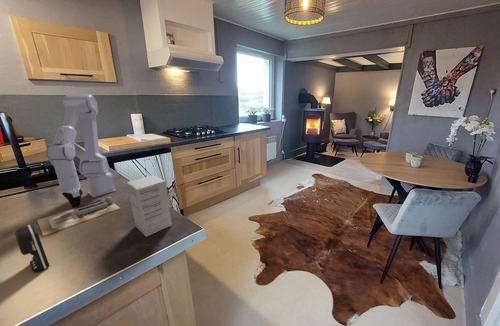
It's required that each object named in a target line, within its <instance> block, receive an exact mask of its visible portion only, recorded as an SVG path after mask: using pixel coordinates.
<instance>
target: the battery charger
mask: <svg viewBox="0 0 500 326" xmlns="http://www.w3.org/2000/svg"><path fill="white" fill-rule="evenodd" d="M14 234H15V239H16V242H17V245H18V248H19V250H20V253H21V254H22V255H23V256H25V255H26V256H27V255H30V256H32V259H31V260H30V261H29V264H30V267H31V269H32V272H33V273H38V272H41V271H43V270H46V269H47V268H49V267H50V263H49V261H48V258H47V256H46V253H45V249H44V247H43V244H42V241H41V238H40V235H39V233H38V231H37V228H36V227H35V224H33V223H31V224H28V225H26V226H22V227H20V228H18V229H16V230H15V233H14Z"/></svg>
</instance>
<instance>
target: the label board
mask: <svg viewBox="0 0 500 326" xmlns="http://www.w3.org/2000/svg"><path fill="white" fill-rule="evenodd" d="M103 199H104V200H105V198H103ZM120 209H121V207H120V206H118V205H117V204H116V203H115V202H114V201H113V203H111V204H108V206H106V207H103V208H100V209H97V210H94V211H91V212H88V213H85V214H82V215H79V216H78V215H77V214H76V213H75V211H74V209H73V208H72V209H69V210H64V211H61V212H59V213H56V214H55V213H54V214H52V215H49V216H45V217H43V218H40V219H37V220H36V221H37V224H38V226H39V229H40V231H41V234H42V236H43V237H46V236H49V235H51V234H54V233H57V232H60V231H62V230H66V229H68V228H71V227H74V226H76V225H80V224H82V223H85V222H89V221H90V220H93V219H96V218H99V217H101V216H105V215H107V214H110V213H112V212H115V211H117V210H120Z"/></svg>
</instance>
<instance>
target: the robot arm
mask: <svg viewBox="0 0 500 326" xmlns="http://www.w3.org/2000/svg"><path fill="white" fill-rule="evenodd" d="M62 103H63V106H64V108H65V111H64V116H63V117H64V118H63V123H62V126H59V127H58V128H57V130H56V133H55V136H54V139H53V142H52V144H51V145H50V146H47V148H46V151H45V157H46V159H48V160H49V162H50V164H51V165H52V166H53V168H54V171H55V174H56V176H57V180H58V184H59V187H60V188H58V189H56V191H57V192H58V193H61V194H62V195H63V197H64V198H65V199H66V200H67V201H68V202H69V204H70V206H71V207H72V209H73V208H74V207H78V206H81V205H82V203H81V200H82V199H81V198H82V195H83V193H84V192H83V190H82V189H81V188H82V185H81V183H80V180H79V176H78V171H79V172H80V174H81V175H83V176H84V177H85V178H86V179H87V180H86V181H87V183H88V187H89V191H87V193H88V195H90V196H91V197H92V198H96V197H99V196H102V195H106V194H109V193H112V192H116V191H117V189H116V185H115V183H114V177H113V174H112V172H110V171H109V168H110V167H109V163H108V160H107V157H106V156H104V155H103V154H101V153H100V148H99V147H100V146H99V135H98V126H97V117H96V116H98V115H99V109H98V102H97V99H96V98H95V97H94V96H93V95H92V94H75V95H74V94H71V95H70V94H66V95H65V96H63V101H62ZM79 119H81V122H82V134H83V143H84V155H83V156H81V158H79V166H78V169H79V170H78V171H77V169H76V164H75V161H74V159H75V156H76V154H77V153H76V145H75V141H76V137H77V135H78V132H77V130H76V129H75V128H76V125H77V123H78V121H79Z"/></svg>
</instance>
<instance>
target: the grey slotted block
mask: <svg viewBox="0 0 500 326" xmlns="http://www.w3.org/2000/svg"><path fill="white" fill-rule="evenodd" d="M104 199H105V200H104ZM113 202H114V201H113V198H112V196H106V197H104V198H101V199H97V200H94V201H91V202H88V203H84V204H81V206H78V207H74V208H72V209H74V211H75V213H76V214H77V215H78V216H79V215H82V214H85V213H88V212H91V211H94V210H97V209H100V208H103V207H106V206H108V204H111V203H113Z"/></svg>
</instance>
